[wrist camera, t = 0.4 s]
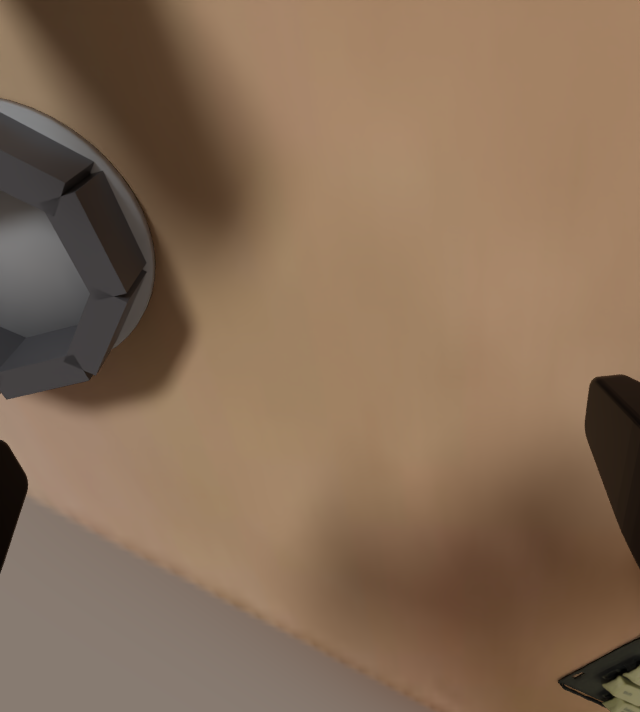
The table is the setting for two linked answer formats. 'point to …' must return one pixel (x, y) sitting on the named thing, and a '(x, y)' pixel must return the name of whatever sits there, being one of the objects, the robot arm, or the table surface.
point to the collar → (64, 255)
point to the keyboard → (611, 679)
